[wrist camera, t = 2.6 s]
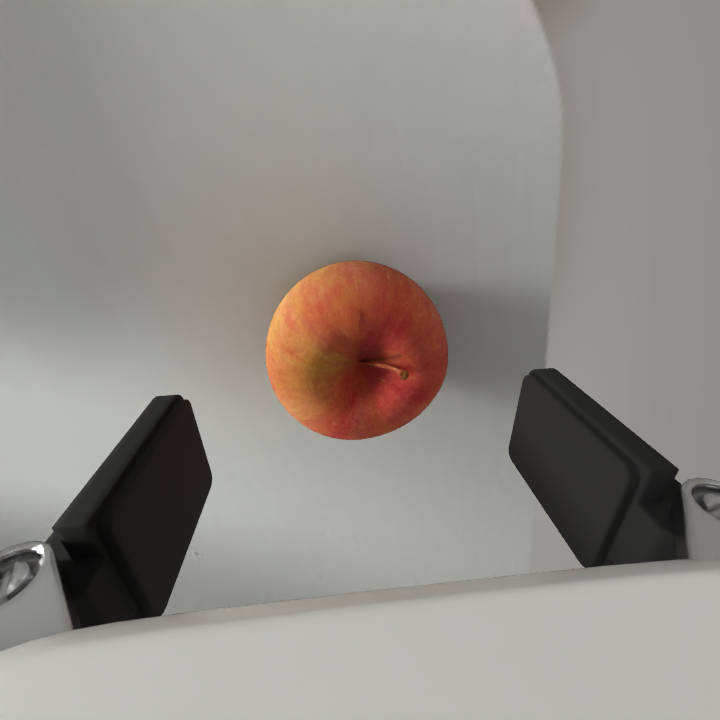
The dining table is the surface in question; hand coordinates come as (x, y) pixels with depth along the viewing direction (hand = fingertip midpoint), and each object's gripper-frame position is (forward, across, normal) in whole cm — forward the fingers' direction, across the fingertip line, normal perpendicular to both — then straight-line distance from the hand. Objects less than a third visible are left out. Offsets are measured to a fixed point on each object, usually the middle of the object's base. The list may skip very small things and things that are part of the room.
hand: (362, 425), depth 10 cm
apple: (+10, 0, 0) cm, 10 cm away
